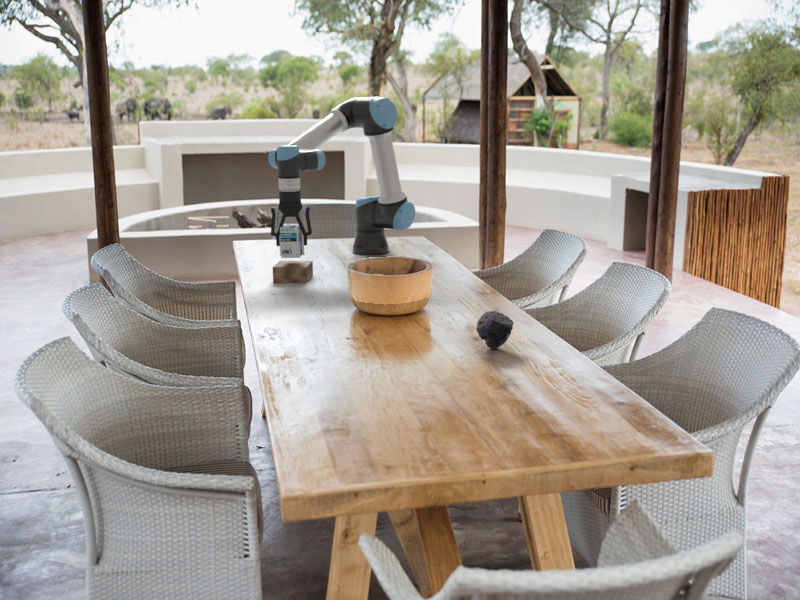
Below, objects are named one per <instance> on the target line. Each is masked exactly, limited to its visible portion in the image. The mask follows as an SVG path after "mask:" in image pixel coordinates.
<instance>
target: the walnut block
mask: <svg viewBox="0 0 800 600" xmlns="http://www.w3.org/2000/svg"><path fill="white" fill-rule="evenodd" d="M313 265H314V264H313V260H279V261H278V262H277V263H275V265H273V266H272V282H273V284H308V283H309V282H308V281H310V280H311V279H312V278H313V277H314V266H313ZM312 276H313V277H312ZM307 282H308V283H307Z"/></svg>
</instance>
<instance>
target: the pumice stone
mask: <svg viewBox="0 0 800 600" xmlns="http://www.w3.org/2000/svg"><path fill="white" fill-rule="evenodd" d="M513 325H514V321H513V320H512V319H511V318H510V317H509V316H507V315H505V314H504V313H502V312H499V311H495V310H492V311H491V310H490V311H486V312H484V313H483V314H481V316H480V318H479V319H478V320H477V323H476V327H475V329H476V332H477V334H478V337H479V338H480V339H481V340H482V341H484V343H485V345H486V348H489V349H491V350H496V349H499V348H500V347H501V346H503V345H504V344H505V343H506V342H507V340H508V339H509V337H510V336H511V333H512V330H513V329H514V328H513Z"/></svg>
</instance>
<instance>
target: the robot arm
mask: <svg viewBox="0 0 800 600" xmlns="http://www.w3.org/2000/svg"><path fill="white" fill-rule="evenodd" d="M397 119H398V110H397V106H396V105H395V103H394V102H393V101H392V100H391V99H390V98H388V97H384V96H379V95H378V96H355V97H351V98H349V99H347V100H345V101H342V103H339V104H338V105H337V106H335V107H333V108H332V109H331V110H329V111H328V114H327V116H325V117H324V118H322V119H320V121H319V122H317V123H315V124H314V125H313V126H311V127H310V128H308V129H307V130H306V131H304V132H303V133H301V134H300V135H298V136H297V137H296V138H294V139H293V140H291V141H289V143H287V144H285V145H284V144H283V145H278V147H275V148H274V147H273V148H272V149H271V150H270V151H269V152H268V157H267V158H268V159H267V160H268V164H269V165H270V167H272V168H274V169H277V179H278V182H277V183H278V190H279V192H278V198H279V200H278V202H279V203H278V206H272V207H271V208H270V211H271V215H272V216H271V225H270V227H271V228H270V235H271V236H272V237H275V241H276V247H279V256H280V257H281V240H280V228H281V227H282V226H283V225H284V224H285V220H286V218H290V217H292V218H295V219H296V221H297V224H299V226H300V229H301V231H302V235H303V236H302V237H301V238H302V255H301V256H305V246H307V245H308V236H311V235H312V234H313V231H312V226H311V225H312V224H311V218H310V209H311V208H310V206H309V205H306V206H305V205H303V204H302V199H301V197H302V195H301V191H300V190H301V172H312V171H313V172H316V171H320V170H322V169H323V168H324V167H325V165H326V155H325V153H324V151H323V150H321V149H319V147H321V146H322V145H324V144H325V143H326V142H327V141H329V140H330V139H332V138H333V137H334V136H336V135H337V134H339V133H344V132H346V131H347V130H350V129H355V128H362V129H363V134H364V136H365V137H367V138H368V140H369V144H370V149H371V153H372V159H373V163H374V168H375V169H374V170H375V173H376V178H377V183H378V187H379V194H380V195H372V196H365V197H364V196H363V197H359V198H357V199H356V201H355V222H356V223H355V224H356V225H355V226H356V227H355V228H356V234H355V238H354V241H353V245H352V253H353V254H357V255H358V254H360V255H381V254H385V253H388V252H389V250H390V249H389V248H390V247H389V243H388V239H387V237H386V234H385V230H386V229H387V230H395V231H405V230H408V229H409V228H411V226H412V225H413V223H414V221H415V217H416V207H415V205H414V204H413V203H412V202H411V201H408V196H407V194H406V193H405V192H403V191H402V186H401V181H400V174H399V170H398V164H397V159H396V154H395V149H394V144H393V140H392V133H393V131H394V129H395V125H396V124H397ZM278 210H279V211H278ZM301 211H303V213H305V220H306V226H307V230H306V228H305V226H304V224H303V221H302V219H301V217H300V212H301ZM278 212H281V214H282V216H281V219H280V222H279V225H278V228H277V231H276V222H277V221H276V218H277V213H278Z"/></svg>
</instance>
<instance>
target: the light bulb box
mask: <svg viewBox="0 0 800 600" xmlns="http://www.w3.org/2000/svg"><path fill="white" fill-rule="evenodd" d="M302 236H303V233H302V231H301V229H300V226H299V224H298V223H284V224H283V226H282V227H281V228H280V240H281V256H280V257H281V259H294V258H295V259H299V258H301V256H303V255H302V238H301V237H302Z"/></svg>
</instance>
